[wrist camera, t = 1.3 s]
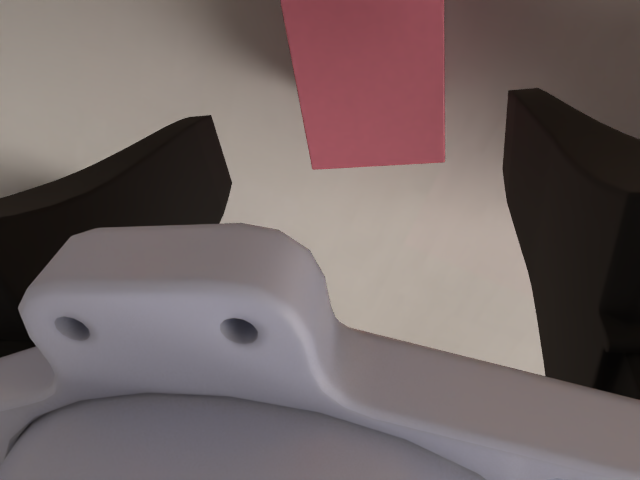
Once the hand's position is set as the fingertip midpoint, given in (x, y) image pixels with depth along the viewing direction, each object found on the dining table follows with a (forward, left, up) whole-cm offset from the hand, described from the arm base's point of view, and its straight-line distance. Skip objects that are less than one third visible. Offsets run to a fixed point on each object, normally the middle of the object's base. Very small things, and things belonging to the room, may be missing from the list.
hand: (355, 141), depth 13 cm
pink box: (0, 0, -9) cm, 9 cm away
